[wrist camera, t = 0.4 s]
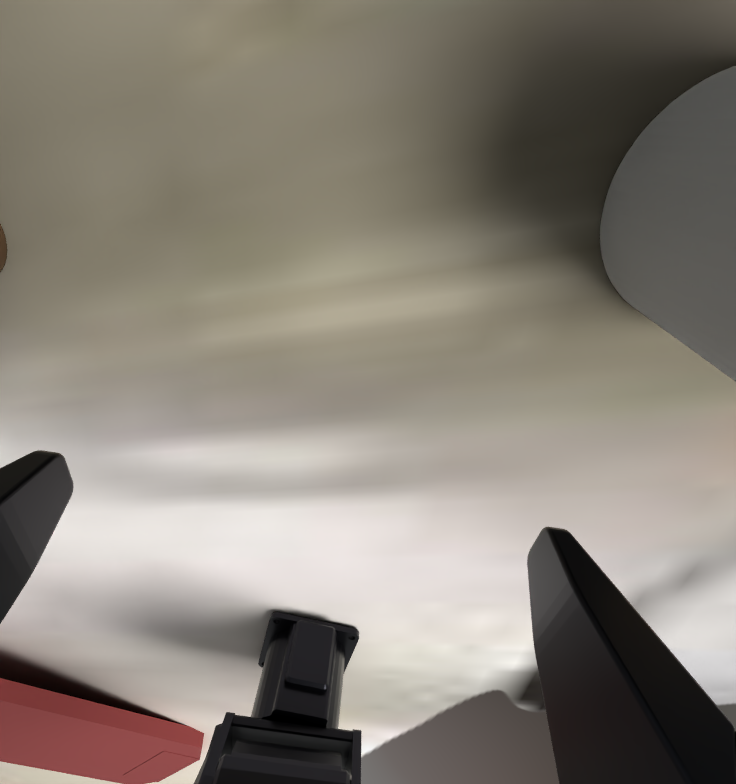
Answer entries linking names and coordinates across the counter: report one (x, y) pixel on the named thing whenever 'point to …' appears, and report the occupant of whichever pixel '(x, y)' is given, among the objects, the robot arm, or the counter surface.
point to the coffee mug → (680, 221)
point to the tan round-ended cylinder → (2, 249)
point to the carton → (90, 737)
